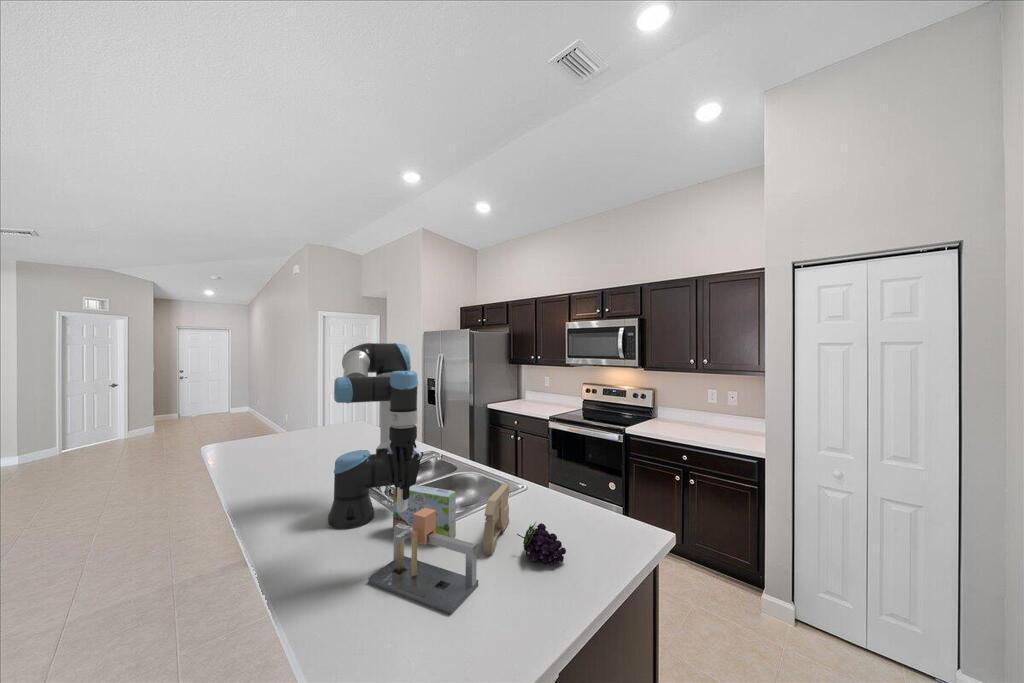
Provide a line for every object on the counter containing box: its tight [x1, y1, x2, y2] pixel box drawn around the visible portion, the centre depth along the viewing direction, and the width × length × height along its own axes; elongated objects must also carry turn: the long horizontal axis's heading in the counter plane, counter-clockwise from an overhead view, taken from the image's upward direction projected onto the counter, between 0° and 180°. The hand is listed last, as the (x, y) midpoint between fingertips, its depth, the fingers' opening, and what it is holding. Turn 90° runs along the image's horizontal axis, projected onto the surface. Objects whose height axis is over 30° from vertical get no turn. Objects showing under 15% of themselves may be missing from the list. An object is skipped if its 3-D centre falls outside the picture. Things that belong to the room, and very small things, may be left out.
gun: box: [482, 483, 510, 556], centre depth 123 cm, size 24×3×15 cm, turn 168°
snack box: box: [392, 484, 457, 538], centre depth 124 cm, size 21×6×15 cm, turn 70°
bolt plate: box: [367, 555, 479, 616], centre depth 97 cm, size 26×12×2 cm, turn 64°
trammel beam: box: [392, 523, 478, 586], centre depth 99 cm, size 26×6×11 cm, turn 64°
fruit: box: [516, 520, 567, 565], centre depth 110 cm, size 10×11×15 cm
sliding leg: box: [411, 508, 436, 576], centre depth 102 cm, size 4×7×15 cm, turn 154°
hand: (402, 510), depth 106 cm, fingers closed
